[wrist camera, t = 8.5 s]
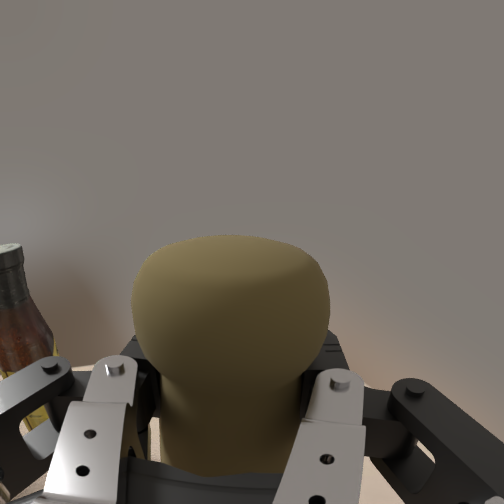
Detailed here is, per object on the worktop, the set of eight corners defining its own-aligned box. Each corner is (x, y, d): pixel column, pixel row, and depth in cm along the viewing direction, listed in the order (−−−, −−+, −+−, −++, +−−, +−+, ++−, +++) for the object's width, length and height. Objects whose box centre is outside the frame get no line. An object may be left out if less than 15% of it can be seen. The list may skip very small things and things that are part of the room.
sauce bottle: (98, 430, 26) (54, 240, 22) (69, 468, 21) (-4, 261, 16) (54, 412, 27) (9, 238, 23) (23, 443, 22) (-43, 254, 17)
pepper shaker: (280, 441, 14) (297, 221, 12) (326, 533, 9) (408, 268, 6) (159, 455, 13) (125, 226, 10) (171, 560, 7) (77, 287, 4)
